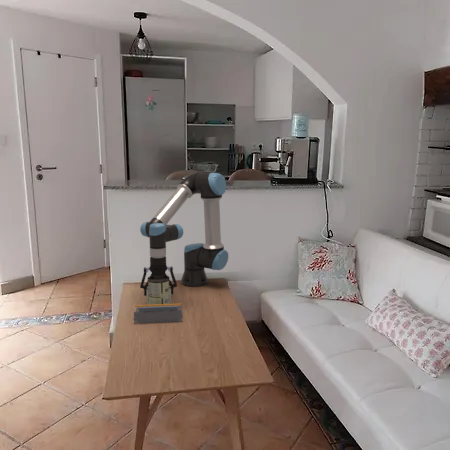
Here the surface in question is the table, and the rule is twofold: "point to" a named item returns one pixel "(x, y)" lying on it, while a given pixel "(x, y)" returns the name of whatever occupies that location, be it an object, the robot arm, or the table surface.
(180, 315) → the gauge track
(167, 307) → the carriage
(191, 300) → the table surface
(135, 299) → the table surface
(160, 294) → the coffee can
